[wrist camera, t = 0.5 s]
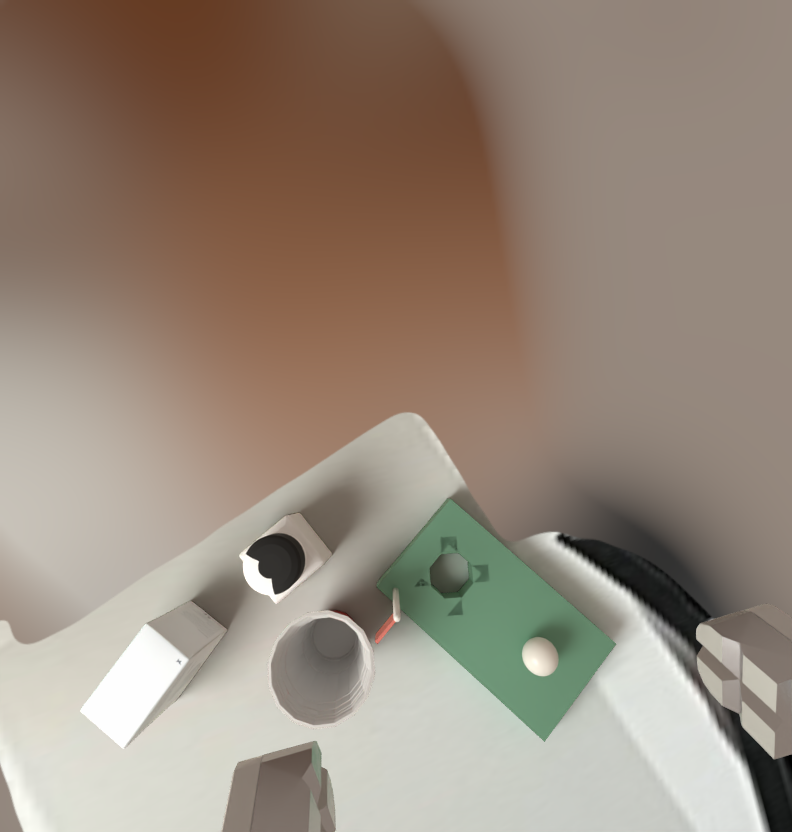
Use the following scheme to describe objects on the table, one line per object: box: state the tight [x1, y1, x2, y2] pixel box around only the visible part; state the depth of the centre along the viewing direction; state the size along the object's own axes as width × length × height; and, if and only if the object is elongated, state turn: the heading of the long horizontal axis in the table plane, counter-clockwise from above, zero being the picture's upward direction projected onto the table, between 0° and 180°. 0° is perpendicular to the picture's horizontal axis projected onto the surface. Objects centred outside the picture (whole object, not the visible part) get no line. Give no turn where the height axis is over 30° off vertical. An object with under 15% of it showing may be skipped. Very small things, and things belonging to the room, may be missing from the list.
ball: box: [522, 637, 559, 676], centre depth 52 cm, size 4×4×4 cm
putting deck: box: [375, 499, 616, 742], centre depth 50 cm, size 26×16×15 cm, turn 49°
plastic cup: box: [268, 610, 375, 729], centre depth 51 cm, size 11×11×12 cm
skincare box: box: [80, 601, 227, 748], centre depth 51 cm, size 10×6×10 cm, turn 145°
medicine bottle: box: [239, 512, 332, 603], centre depth 52 cm, size 7×7×12 cm
